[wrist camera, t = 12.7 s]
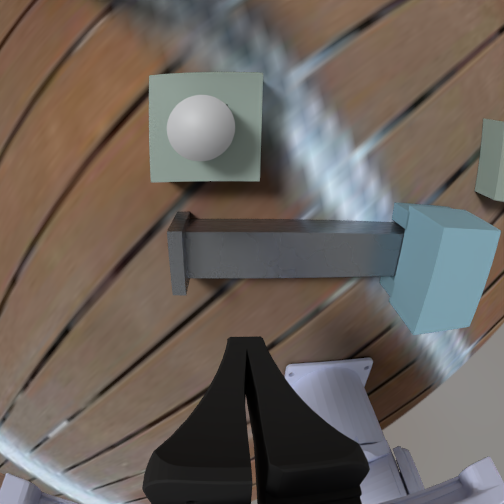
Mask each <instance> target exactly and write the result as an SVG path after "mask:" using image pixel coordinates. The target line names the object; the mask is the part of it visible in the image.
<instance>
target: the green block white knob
mask: <svg viewBox="0 0 504 504" xmlns="http://www.w3.org/2000/svg"><path fill="white" fill-rule="evenodd" d="M262 95H263V73H258V72H194V73H174V74H160V75H149V145H150V173H151V182H184V181H260V159H261V128H262Z"/></svg>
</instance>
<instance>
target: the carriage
mask: <svg viewBox="0 0 504 504" xmlns="http://www.w3.org/2000/svg"><path fill="white" fill-rule="evenodd" d="M392 220H394V221H395V222H396V223H398V224H399V225H400V226H402V227H403V228H404V229H405V233H404V238H403V243H402V248H401V253H400V257H399V262H398V266H397V271H396V275H395V276H381V278H380V284H381V285H382V286H383V288H384V289H385V290H386V292H387V293H388V294H389V296H390V299H389V302H390V303H391V305H392V306H393V307H394V309H395V310H396V312H397V313H398V314H399V316H400V317H401V319H402V320H403V321H404V323H405V324H406V326H407V327H408V328H409V330H410V331H411V333H412V334H413V335H418V334H425V333H432V332H439V331H445V330H452V329H458V328H464V327H469V326H470V323H471V321H472V319H473V316H474V314H475V311H476V308H477V306H478V303H479V300H480V298H481V295H482V292H483V289H484V287H485V284H486V281H487V278H488V275H489V271H490V268H491V265H492V262H493V258H494V255H495V252H496V248H497V244H498V241H499V237H500V233H501V231H500V230H499V229H497V228H495V227H494V226H492V225H490V224H489V223H487V222H485V221H484V220H482V219H480V218H478V217H477V216H475V215H473V214H471V213H469V212H468V211H466V210H459V209H452V208H450V207H444V206H433V205H421V204H408V203H394V210H393V216H392Z"/></svg>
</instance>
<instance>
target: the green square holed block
mask: <svg viewBox="0 0 504 504" xmlns="http://www.w3.org/2000/svg"><path fill="white" fill-rule="evenodd" d="M475 191H476V192H478V193H480V194H482V195H484V196H486V197H488V198H491V199H493V200H496V201H503V202H504V122H502V121H496V120H490V119H483V131H482V141H481V151H480V159H479V167H478V174H477V180H476V186H475Z"/></svg>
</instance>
